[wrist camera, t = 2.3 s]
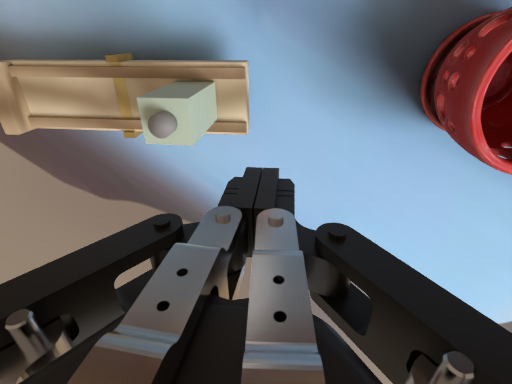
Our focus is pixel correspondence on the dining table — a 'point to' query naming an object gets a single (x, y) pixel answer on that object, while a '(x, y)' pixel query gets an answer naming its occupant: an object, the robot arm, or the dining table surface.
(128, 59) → the beam
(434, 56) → the plant pot
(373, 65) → the dining table surface
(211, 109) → the block
